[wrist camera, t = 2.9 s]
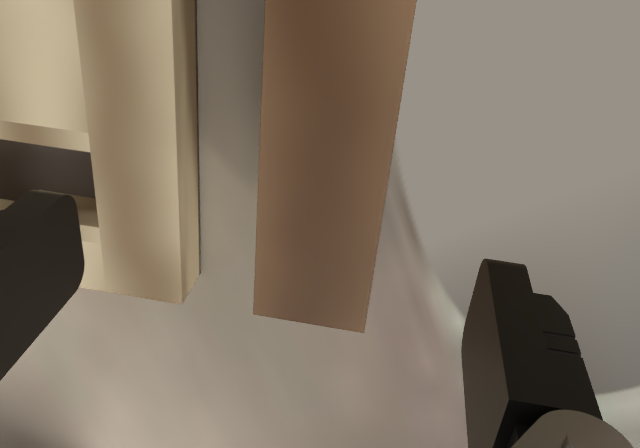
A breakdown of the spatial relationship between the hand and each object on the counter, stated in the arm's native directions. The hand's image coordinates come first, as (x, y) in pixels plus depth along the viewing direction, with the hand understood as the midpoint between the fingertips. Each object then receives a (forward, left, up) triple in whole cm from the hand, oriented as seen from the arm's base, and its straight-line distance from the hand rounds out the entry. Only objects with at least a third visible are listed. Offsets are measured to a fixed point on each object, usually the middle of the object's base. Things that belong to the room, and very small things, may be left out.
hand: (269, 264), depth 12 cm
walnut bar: (0, 0, -13) cm, 13 cm away
